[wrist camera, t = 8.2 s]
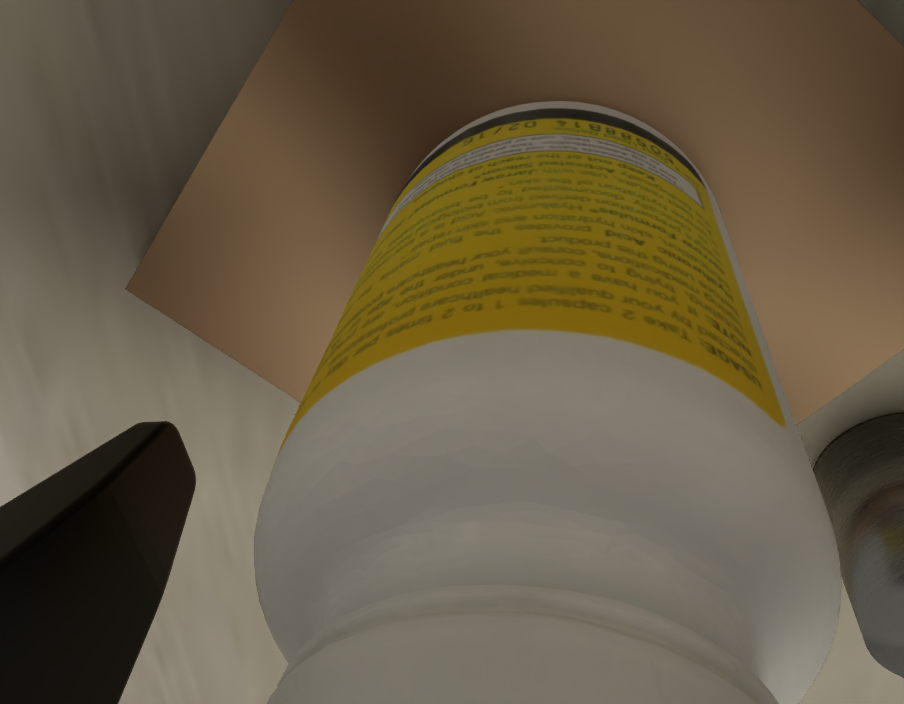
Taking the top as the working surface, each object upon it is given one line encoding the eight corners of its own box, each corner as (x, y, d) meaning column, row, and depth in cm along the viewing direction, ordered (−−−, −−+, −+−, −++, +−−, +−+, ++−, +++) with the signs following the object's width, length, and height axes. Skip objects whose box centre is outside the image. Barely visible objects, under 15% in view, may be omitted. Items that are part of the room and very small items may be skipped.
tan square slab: (505, -343, 10) (499, -355, 9) (1053, 201, 12) (1079, 223, 12) (145, 269, 15) (125, 288, 15) (577, 553, 18) (577, 581, 17)
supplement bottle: (326, 187, 13) (-85, 801, 5) (645, 23, 11) (859, 586, 3) (481, 427, 15) (382, 1111, 7) (766, 327, 13) (1074, 1113, 5)
